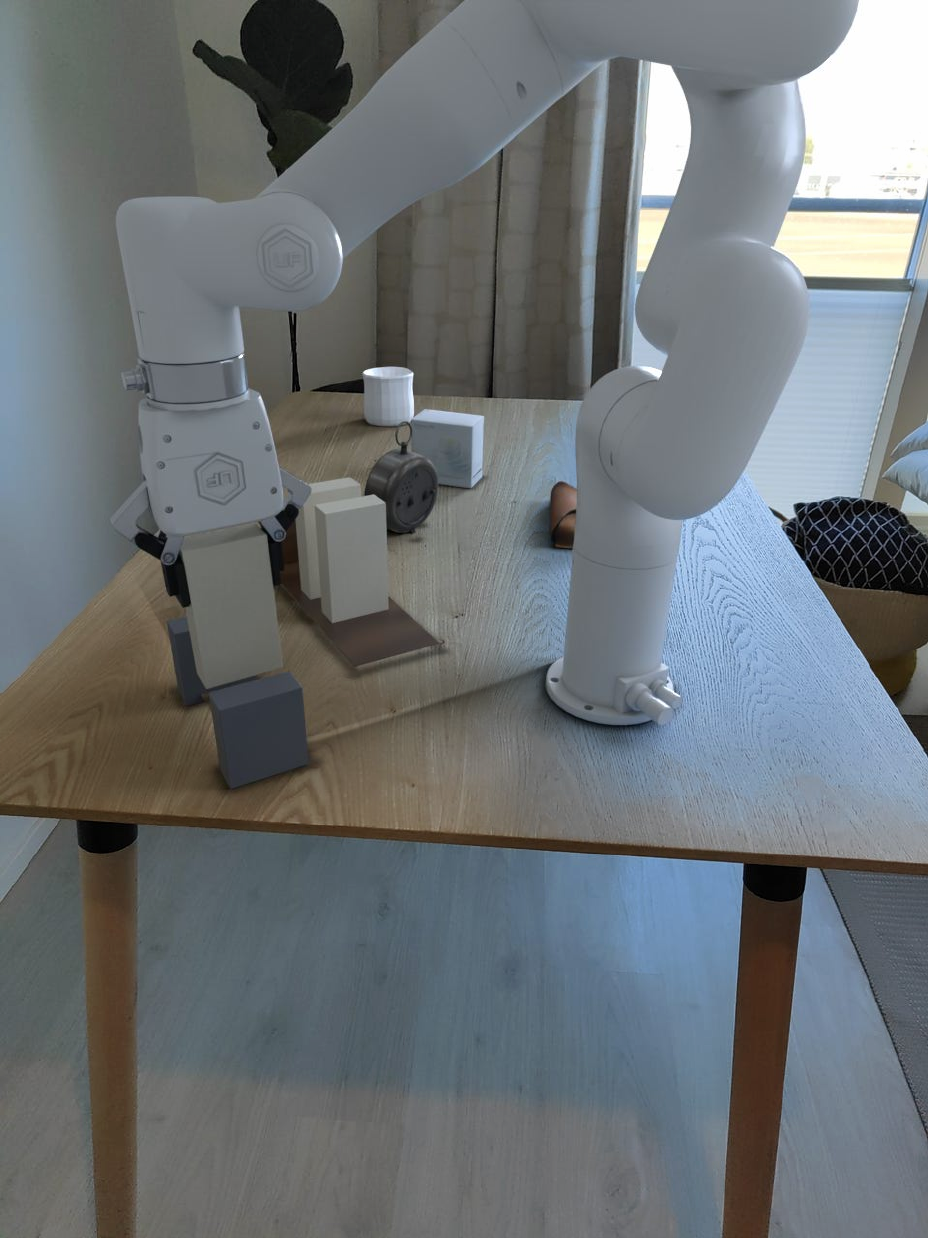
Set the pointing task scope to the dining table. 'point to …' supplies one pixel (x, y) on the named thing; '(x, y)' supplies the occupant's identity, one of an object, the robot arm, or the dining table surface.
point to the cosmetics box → (450, 445)
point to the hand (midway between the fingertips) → (228, 588)
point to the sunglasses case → (563, 515)
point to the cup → (388, 396)
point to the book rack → (355, 619)
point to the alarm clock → (404, 486)
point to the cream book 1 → (231, 604)
